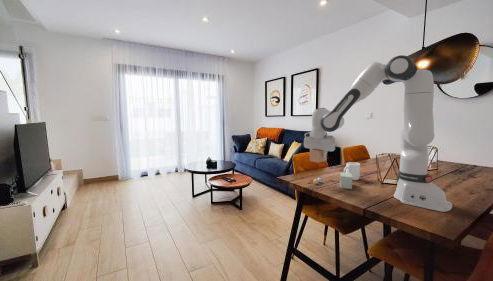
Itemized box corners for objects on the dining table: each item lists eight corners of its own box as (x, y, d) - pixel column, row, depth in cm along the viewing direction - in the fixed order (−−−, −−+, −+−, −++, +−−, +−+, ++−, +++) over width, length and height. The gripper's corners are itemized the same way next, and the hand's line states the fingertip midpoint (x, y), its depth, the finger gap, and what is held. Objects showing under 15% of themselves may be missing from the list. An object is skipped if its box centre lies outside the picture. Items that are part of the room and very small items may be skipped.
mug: (348, 181, 138) (348, 166, 137) (338, 178, 146) (339, 163, 145) (362, 179, 142) (363, 164, 141) (352, 176, 150) (353, 161, 149)
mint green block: (350, 184, 134) (351, 173, 133) (351, 189, 125) (352, 177, 124) (339, 183, 136) (340, 172, 135) (340, 187, 127) (340, 176, 127)
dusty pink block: (326, 160, 135) (327, 149, 134) (318, 162, 130) (318, 151, 129) (318, 158, 140) (318, 148, 139) (309, 161, 134) (309, 149, 134)
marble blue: (322, 182, 138) (322, 177, 137) (320, 183, 136) (320, 178, 135) (318, 181, 140) (318, 176, 140) (315, 182, 138) (316, 177, 138)
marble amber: (319, 183, 135) (319, 179, 135) (316, 184, 133) (316, 180, 133) (315, 182, 138) (315, 178, 137) (312, 183, 136) (312, 178, 135)
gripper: (337, 135, 126) (336, 158, 128) (308, 133, 143) (307, 153, 144) (331, 136, 123) (330, 160, 124) (302, 133, 139) (302, 155, 140)
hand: (318, 156), depth 134 cm, fingers closed on dusty pink block, 6 cm apart
